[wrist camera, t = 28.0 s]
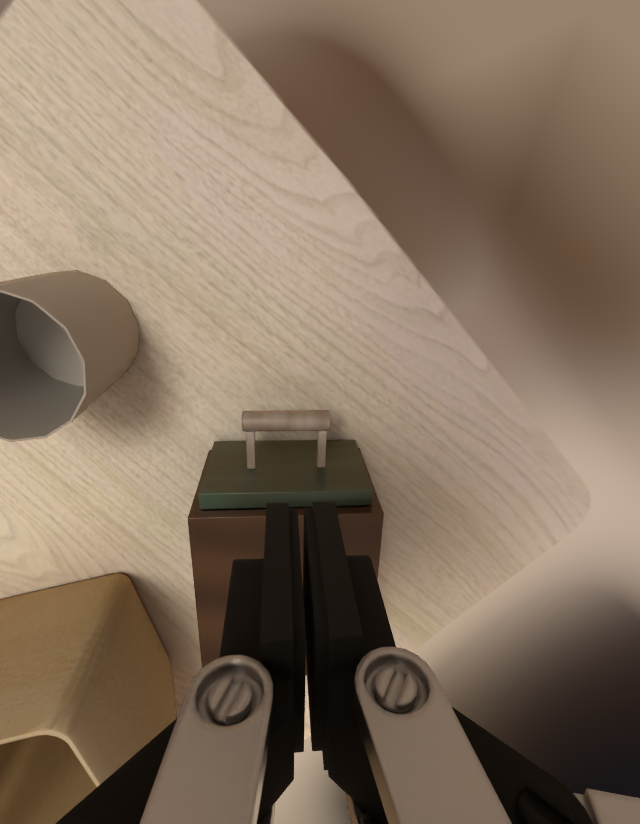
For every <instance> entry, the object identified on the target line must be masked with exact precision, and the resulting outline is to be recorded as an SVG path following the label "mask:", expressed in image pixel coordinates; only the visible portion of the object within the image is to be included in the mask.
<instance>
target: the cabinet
mask: <svg viewBox="0 0 640 824" xmlns="http://www.w3.org/2000/svg"><path fill="white" fill-rule="evenodd" d="M358 450H359V452H360V455H361V458H362V461H363V463H364V466H365V469H366V472H367V474H368V477H369V480H370V483H371V485H372V488H373V500H372V505H361V506H356V507H341V508H336V509H337V514H338V519H339V523H340V528H341V533H342V538H343V543H344V547H345V552H346V555H369V556H370V558H371V560H372V564H373V567H374V571H375V574H376V578H378V567H379V557H380V546H381V536H382V525H383V515H384V513H383V510H382V508H381V505H380V502H379V500H378V497H377V494H376V492H375V489H374V486H373V484H372V481H371V478H370V475H369V473H368V470H367V467H366V465H365V462H364V459H363V457H362V454H361V451H360V448H358ZM211 451H212V450H209V453H208V456H207V459H206V462H205V465H204V469H203V472H202V475H201V478H200V481H199V484H198V488H197V491H196V494H195V497H194V500H193V504H192V507H191V510H190V513H189V516H188V526H189V536H190V547H191V557H192V567H193V577H194V588H195V598H196V608H197V619H198V629H199V639H200V650H201V660H202V668H203V667H204V666H206V665H207V664H209V663H210V662H212V661H214V660H216V659H219V657H220V649H221V642H222V635H223V628H224V621H225V613H226V606H227V599H228V592H229V584H230V577H231V570H232V564H233V560H234V559H260V558H264V546H265V523H266V509H262V510H222V511H216V509H201V510H200V507H199V495H198V494H199V491H200V487H201V484H202V481H203V477H204V474H205V471H206V468H207V464H208V461H209V458H210V454H211ZM297 511H298V525H299V540H300V555H301V570H302V585H303V535H304V508H301V509H297ZM305 675H307V665H306V667H305Z"/></svg>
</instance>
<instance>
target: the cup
mask: <svg viewBox="0 0 640 824" xmlns="http://www.w3.org/2000/svg"><path fill="white" fill-rule="evenodd" d="M138 350H139V324H138V322H137V320H136V318H135V316H134V313H133V311H132V309H131V307H130V305H129V303H128V301H127V299H126V298H124V297H123V296H122V295H121V294H120V293H119V292H118V291H117V290H115V289H114V288H113V287H112V286H111V285H110V284H109V283H108V282H106V281H105V280H103V279H100V278H97V277H95V276H92V275H89V274H86V273H83V272H80V271H78V270H75V271H65V272H54V273H46V274H41V275H36V276H30V277H25V278H19V279H14V280H9V281H3V282H0V439H3V440H6V441H10V442H14V441H23V440H32V439H41V438H46V437H48V436H50V435H51V434H53V433H54V432H56V431H58V430H59V429H61V428H62V427H64V426H66V425H67V424H69V423H70V422H72V421H73V420H74V419H75V418H76V417H77V416H78V415H80V414H81V413H82V412H83V411H84V410H85V409H86V408H87V407H88V406H89V405H90V404H91V403H93V402H94V401H95V400H96V399H97V398H98V397H99V396H100V395H101V394H102V393H103V392H104V391H106V390H107V389H108V388H109V387H110V386H111V385H112V384H113V383H114V382H115V381H116V380H117V379H119V378H120V377H121V376H122V375H123V374H124V373H125V372H126V371H127V370H128V369H129V367H130V365H131V363H132V361H133V359H134V358H135V356H136V354H137V352H138Z"/></svg>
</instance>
